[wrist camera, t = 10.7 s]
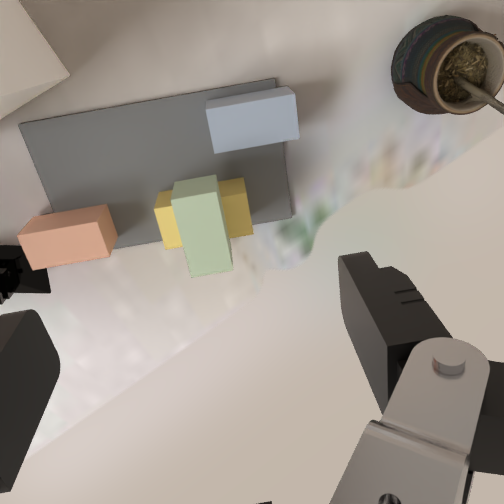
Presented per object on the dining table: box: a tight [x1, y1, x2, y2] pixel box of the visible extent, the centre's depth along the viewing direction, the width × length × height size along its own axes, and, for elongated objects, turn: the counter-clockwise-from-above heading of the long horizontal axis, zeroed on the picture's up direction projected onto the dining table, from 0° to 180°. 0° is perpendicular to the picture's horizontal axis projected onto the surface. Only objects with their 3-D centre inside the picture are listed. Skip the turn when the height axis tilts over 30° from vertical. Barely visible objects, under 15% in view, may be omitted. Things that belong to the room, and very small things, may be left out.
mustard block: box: [154, 177, 254, 250], centre depth 40 cm, size 8×4×4 cm, turn 99°
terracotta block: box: [17, 204, 118, 270], centre depth 40 cm, size 7×4×4 cm, turn 99°
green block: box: [170, 174, 233, 278], centre depth 37 cm, size 7×4×4 cm, turn 9°
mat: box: [18, 78, 292, 249], centre depth 41 cm, size 22×13×1 cm, turn 99°
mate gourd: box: [391, 15, 504, 115], centre depth 34 cm, size 7×8×10 cm
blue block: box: [206, 86, 300, 154], centre depth 37 cm, size 7×4×4 cm, turn 99°
